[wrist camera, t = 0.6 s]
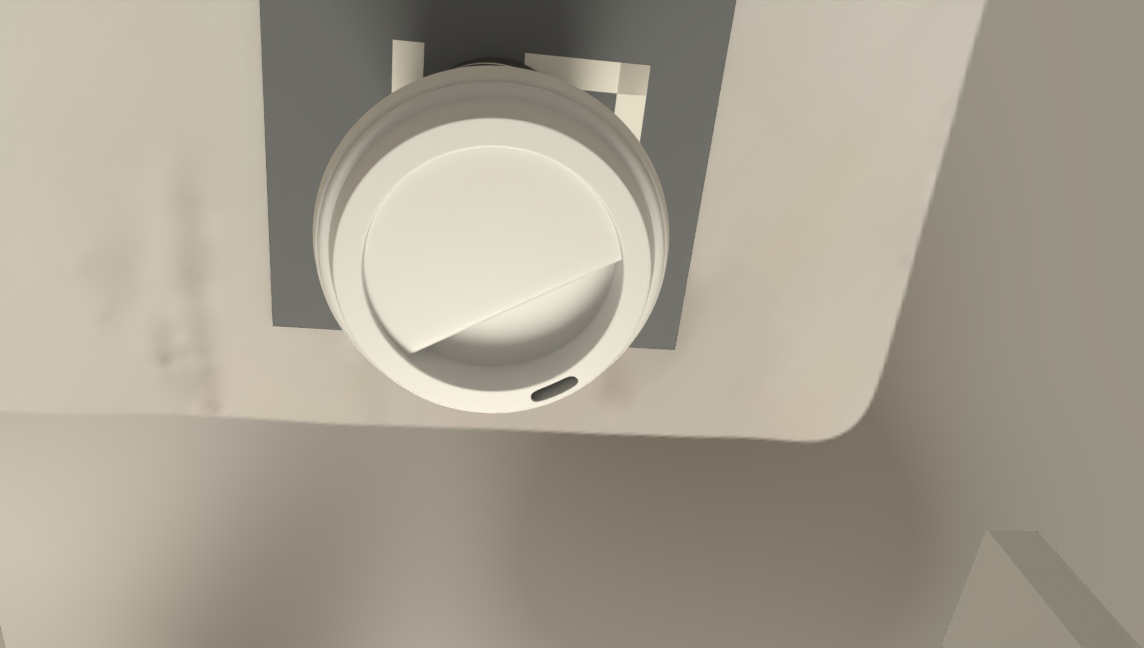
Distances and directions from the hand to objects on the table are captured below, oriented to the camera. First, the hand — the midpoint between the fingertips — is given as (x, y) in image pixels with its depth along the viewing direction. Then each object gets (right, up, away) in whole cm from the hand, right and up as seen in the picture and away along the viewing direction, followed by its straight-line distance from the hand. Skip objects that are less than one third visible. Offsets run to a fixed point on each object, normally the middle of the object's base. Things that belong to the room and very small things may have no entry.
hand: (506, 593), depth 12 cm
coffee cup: (-2, +11, +24) cm, 26 cm away
